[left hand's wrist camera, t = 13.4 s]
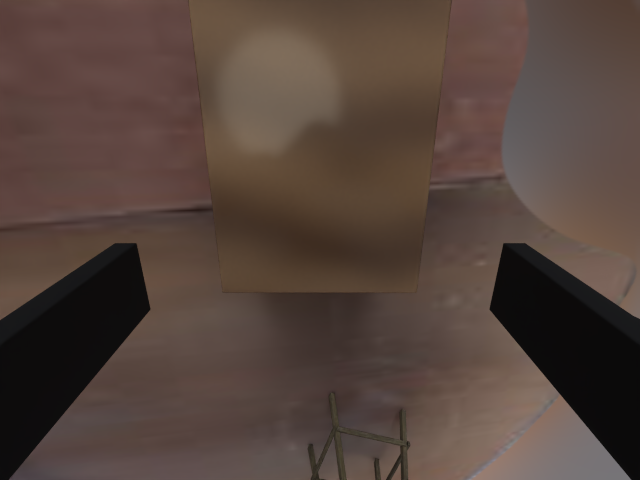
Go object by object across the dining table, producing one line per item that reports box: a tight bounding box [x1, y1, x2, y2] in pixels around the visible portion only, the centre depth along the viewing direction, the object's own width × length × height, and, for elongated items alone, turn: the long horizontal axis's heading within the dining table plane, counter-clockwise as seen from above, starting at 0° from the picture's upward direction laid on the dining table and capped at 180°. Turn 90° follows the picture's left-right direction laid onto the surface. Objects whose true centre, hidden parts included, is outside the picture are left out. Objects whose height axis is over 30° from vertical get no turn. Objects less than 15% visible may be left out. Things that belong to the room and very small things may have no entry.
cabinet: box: [188, 0, 452, 293], centre depth 20 cm, size 20×11×10 cm, turn 0°
